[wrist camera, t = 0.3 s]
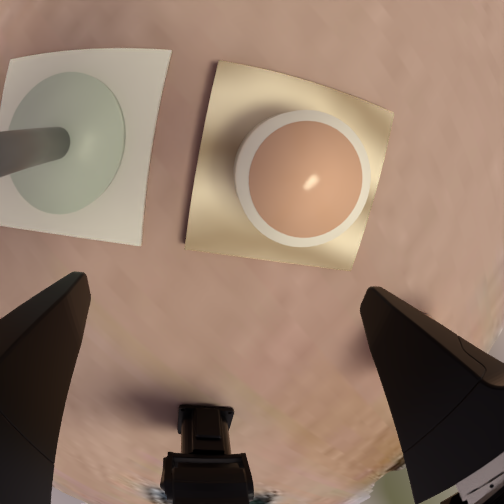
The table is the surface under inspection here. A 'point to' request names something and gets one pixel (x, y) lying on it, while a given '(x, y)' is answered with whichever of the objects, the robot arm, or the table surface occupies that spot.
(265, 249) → the board
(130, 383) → the table surface
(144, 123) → the mat
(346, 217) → the bowl
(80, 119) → the lid
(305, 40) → the table surface
